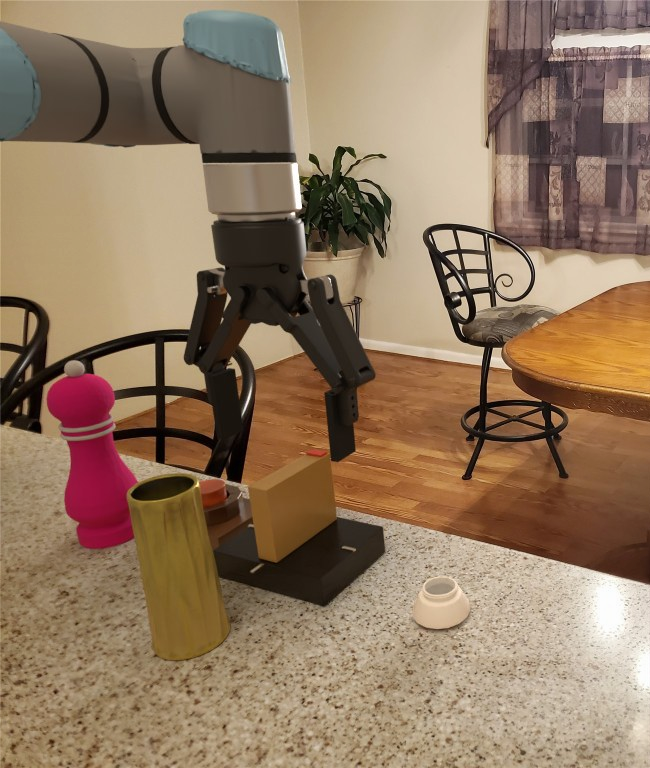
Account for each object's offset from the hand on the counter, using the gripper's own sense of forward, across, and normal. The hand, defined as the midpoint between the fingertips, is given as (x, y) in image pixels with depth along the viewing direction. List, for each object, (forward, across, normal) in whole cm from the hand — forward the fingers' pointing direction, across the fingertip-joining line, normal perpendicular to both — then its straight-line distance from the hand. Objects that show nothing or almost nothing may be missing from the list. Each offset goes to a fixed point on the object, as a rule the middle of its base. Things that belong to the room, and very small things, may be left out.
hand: (284, 445), depth 65 cm
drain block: (+13, +14, -2) cm, 19 cm away
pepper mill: (+14, +24, +3) cm, 27 cm away
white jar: (+13, -18, +2) cm, 22 cm away
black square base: (+13, 0, 0) cm, 13 cm away
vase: (+13, +1, +13) cm, 18 cm away
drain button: (+9, +14, -2) cm, 17 cm away
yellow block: (+10, 0, 0) cm, 10 cm away
